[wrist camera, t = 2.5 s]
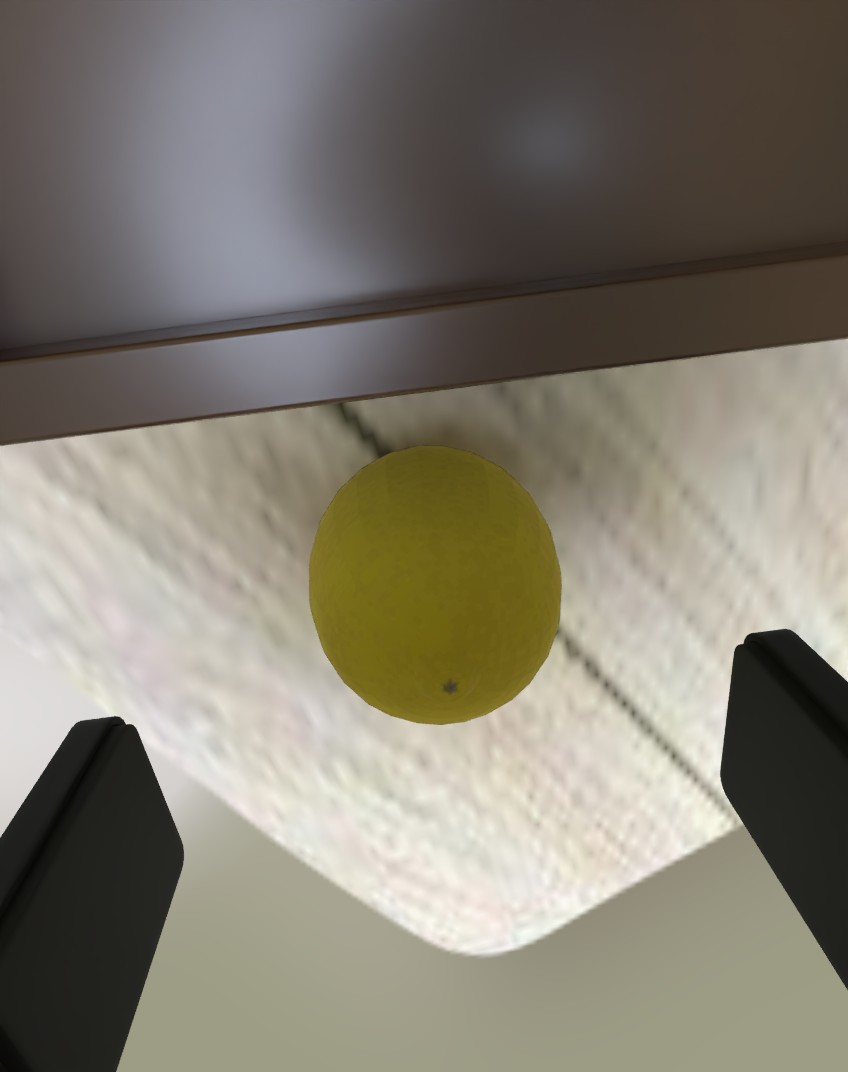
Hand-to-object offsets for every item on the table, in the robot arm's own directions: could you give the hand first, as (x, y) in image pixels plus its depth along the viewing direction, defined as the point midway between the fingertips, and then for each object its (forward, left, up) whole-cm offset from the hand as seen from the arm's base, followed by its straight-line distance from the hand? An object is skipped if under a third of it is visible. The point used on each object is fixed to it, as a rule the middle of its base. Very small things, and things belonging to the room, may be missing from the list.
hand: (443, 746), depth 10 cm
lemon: (0, 0, -9) cm, 9 cm away
